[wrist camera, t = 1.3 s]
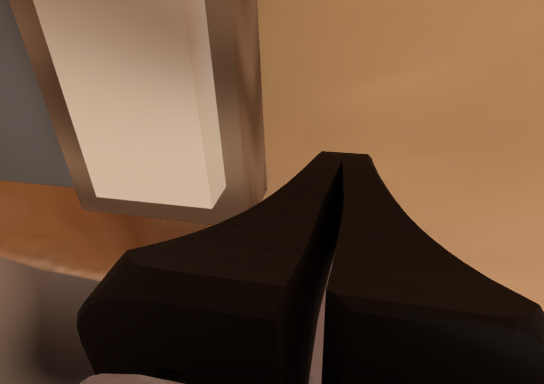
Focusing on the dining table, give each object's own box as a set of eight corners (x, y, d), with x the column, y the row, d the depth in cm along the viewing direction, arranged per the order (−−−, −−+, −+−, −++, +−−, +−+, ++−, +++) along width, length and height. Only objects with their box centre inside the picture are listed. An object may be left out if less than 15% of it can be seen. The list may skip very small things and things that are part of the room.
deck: (266, 189, 24) (248, 228, 21) (119, 176, 26) (82, 210, 23) (251, -93, 17) (220, -100, 14) (48, -80, 19) (-21, -84, 16)
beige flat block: (226, 186, 20) (212, 209, 18) (118, 176, 21) (96, 196, 20) (202, -17, 15) (180, -11, 13) (65, -14, 16) (30, -8, 15)
